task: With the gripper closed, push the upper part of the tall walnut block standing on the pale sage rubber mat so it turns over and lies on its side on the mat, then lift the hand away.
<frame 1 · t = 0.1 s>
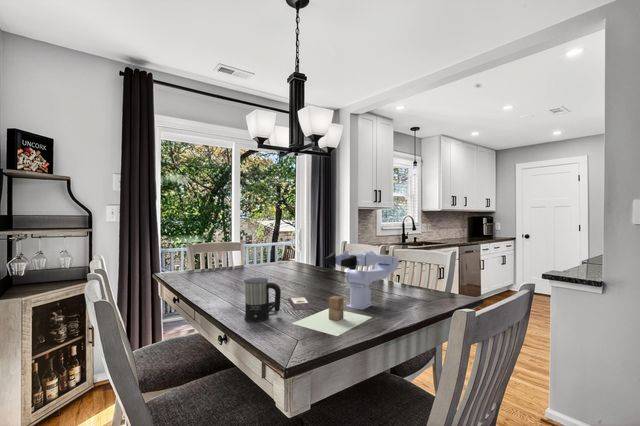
hand: (333, 262, 125), 22 cm above the table, tool horizontal, fingers open, 7 cm apart
milk frother: (261, 315, 129), on the table
sage mat: (333, 321, 122), on the table
chocolate bar: (301, 305, 144), on the table
walnut block: (336, 318, 123), resting on sage mat
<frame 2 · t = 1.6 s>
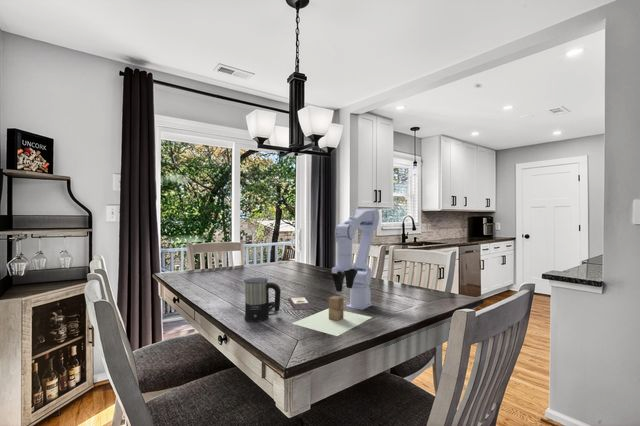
hand: (344, 289, 128), 10 cm above the table, tool pointing down, fingers open, 7 cm apart
nothing on the table moved.
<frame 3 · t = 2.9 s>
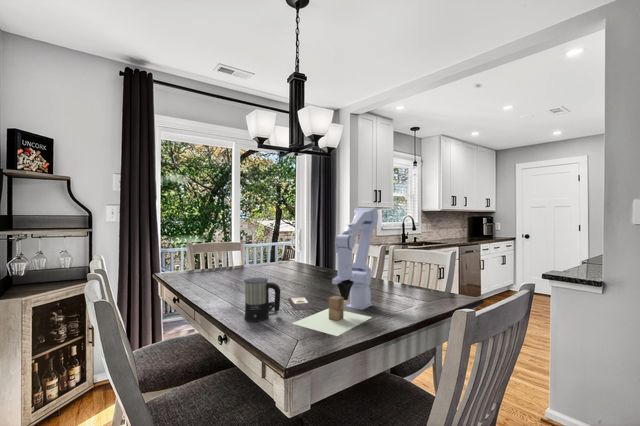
hand: (344, 299, 128), 6 cm above the table, tool pointing down, fingers closed
nothing on the table moved.
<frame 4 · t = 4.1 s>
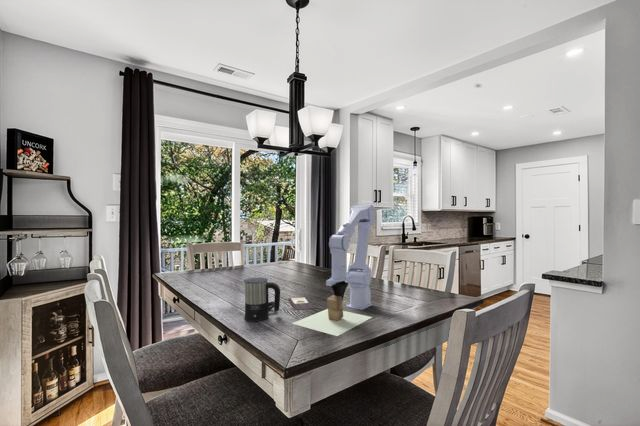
hand: (339, 301, 125), 6 cm above the table, tool pointing down, fingers closed
walnut block: (336, 317, 123), point 1 cm above the table, tilted 9°, touching sage mat
everything else where it was.
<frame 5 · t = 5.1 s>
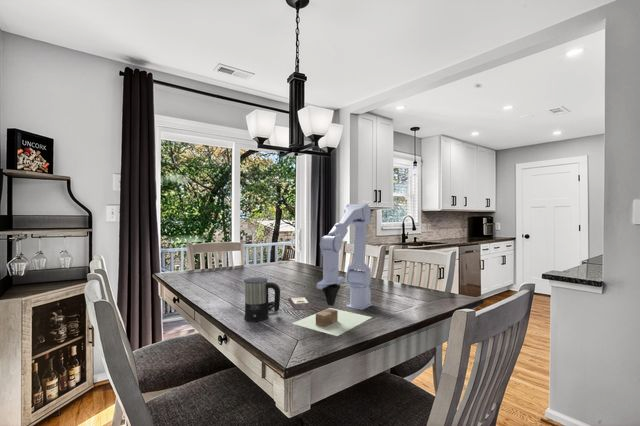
hand: (330, 304, 121), 6 cm above the table, tool pointing down, fingers closed
walnut block: (333, 314, 122), point 2 cm above the table, tilted 90°, touching sage mat
everything else where it was.
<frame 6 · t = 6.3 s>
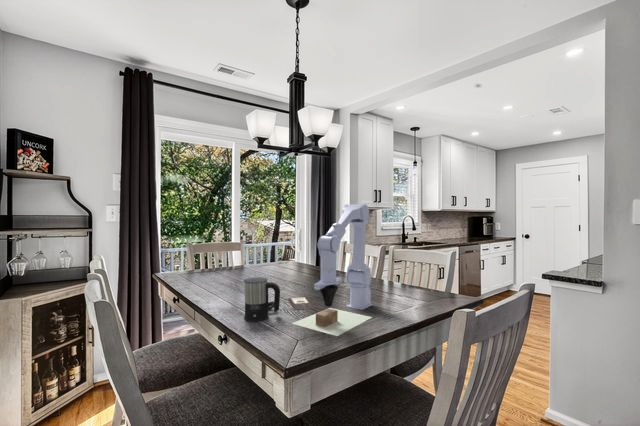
hand: (328, 305, 119), 6 cm above the table, tool pointing down, fingers closed
nothing on the table moved.
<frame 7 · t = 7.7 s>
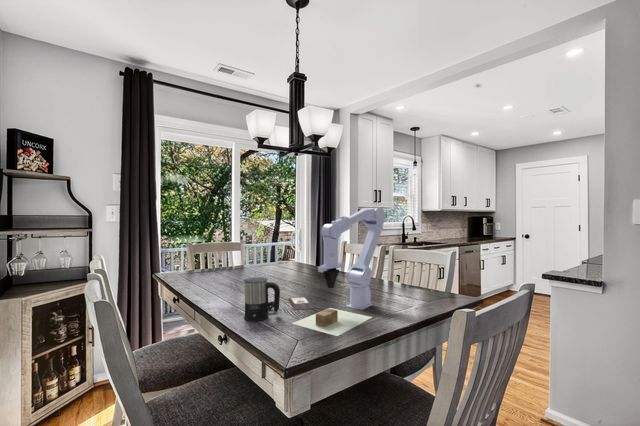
hand: (330, 287, 131), 10 cm above the table, tool pointing down, fingers closed
nothing on the table moved.
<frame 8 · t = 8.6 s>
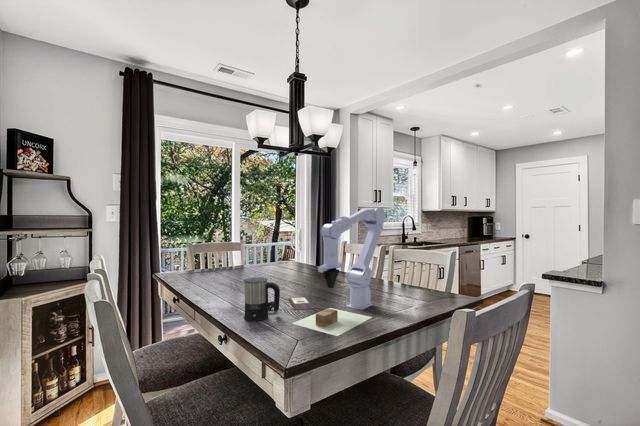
hand: (330, 287, 131), 10 cm above the table, tool pointing down, fingers closed
nothing on the table moved.
at the end: walnut block tilted 90°; walnut block inside the target area on the sage mat (0.0 cm from its centre), point 2.4 cm above the sage mat's base; walnut block touching sage mat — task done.
